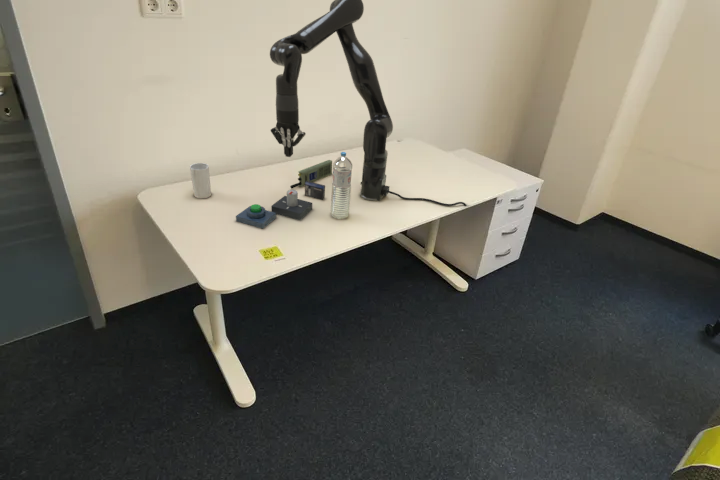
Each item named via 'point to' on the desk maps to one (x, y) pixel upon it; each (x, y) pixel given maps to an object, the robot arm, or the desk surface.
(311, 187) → the mini dv tape
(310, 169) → the handheld radio
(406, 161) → the desk surface
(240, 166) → the desk surface
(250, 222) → the housing
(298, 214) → the dial panel
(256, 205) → the button
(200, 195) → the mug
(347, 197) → the water bottle
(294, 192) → the program dial
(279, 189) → the desk surface
